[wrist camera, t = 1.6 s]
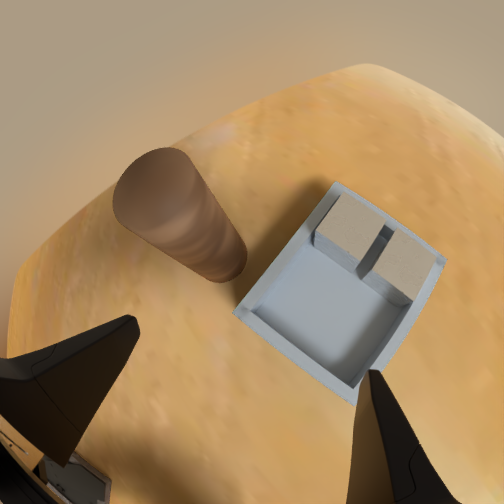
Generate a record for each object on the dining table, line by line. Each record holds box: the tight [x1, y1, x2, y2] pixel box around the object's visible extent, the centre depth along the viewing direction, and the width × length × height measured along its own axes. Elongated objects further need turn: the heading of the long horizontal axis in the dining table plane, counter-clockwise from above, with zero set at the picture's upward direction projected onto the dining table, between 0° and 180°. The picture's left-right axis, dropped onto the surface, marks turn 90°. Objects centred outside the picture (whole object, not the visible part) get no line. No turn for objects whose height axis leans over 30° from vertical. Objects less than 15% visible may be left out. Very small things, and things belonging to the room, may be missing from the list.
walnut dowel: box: [113, 148, 247, 283], centre depth 19 cm, size 5×5×13 cm
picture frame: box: [43, 452, 111, 504], centre depth 20 cm, size 13×2×18 cm
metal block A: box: [361, 227, 437, 307], centre depth 19 cm, size 4×4×4 cm
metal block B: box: [314, 192, 387, 274], centre depth 21 cm, size 4×4×4 cm
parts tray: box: [232, 181, 447, 406], centre depth 21 cm, size 14×12×3 cm
